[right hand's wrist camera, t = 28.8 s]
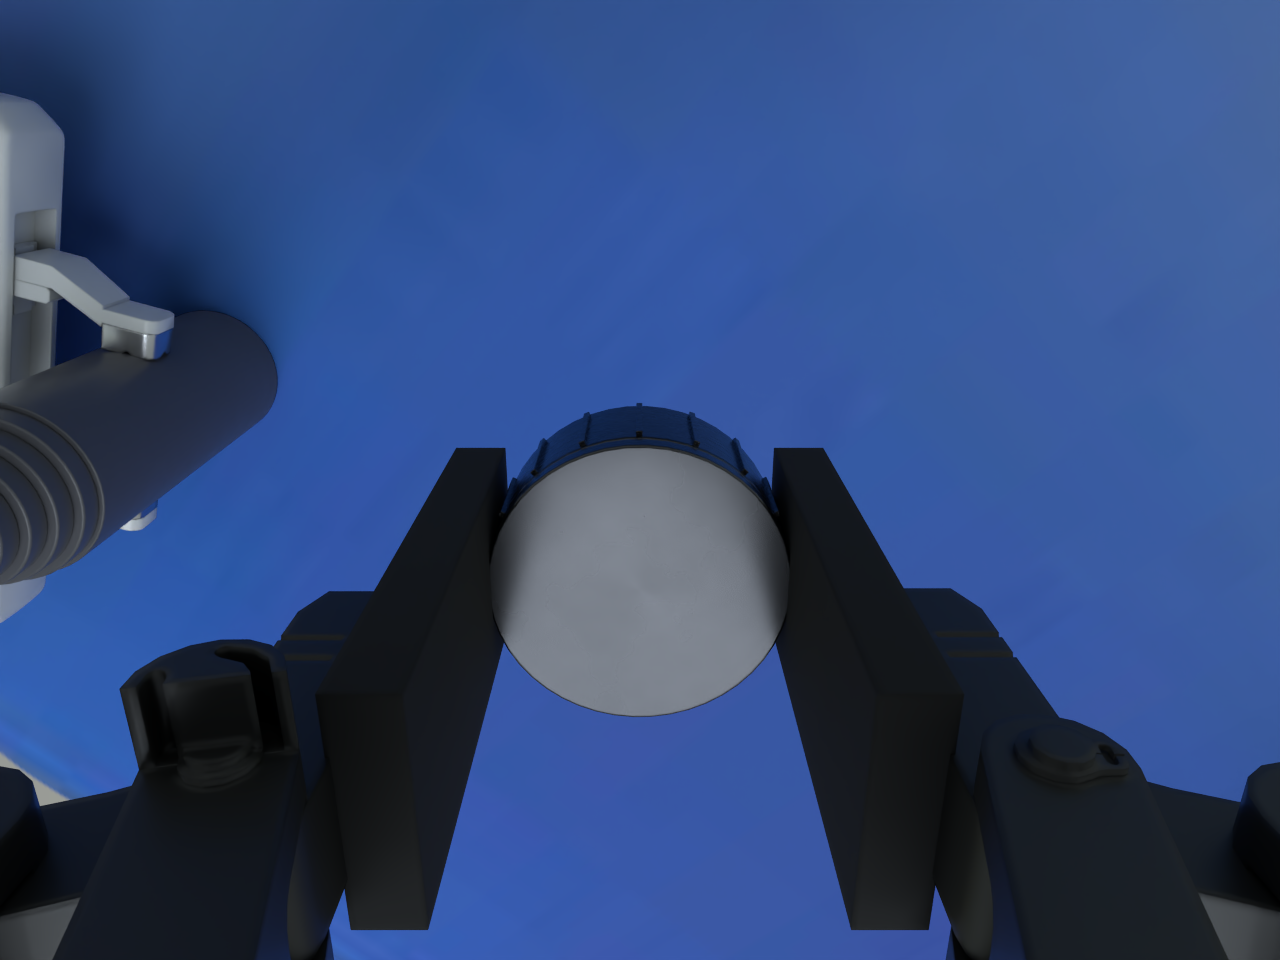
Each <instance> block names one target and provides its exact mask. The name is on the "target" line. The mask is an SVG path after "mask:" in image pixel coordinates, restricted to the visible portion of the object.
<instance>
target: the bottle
mask: <svg viewBox="0 0 1280 960" xmlns="http://www.w3.org/2000/svg"><path fill="white" fill-rule="evenodd" d="M276 391H277V373H276V368H275V364H274V361H273V358H272V356H271V354H270V352H269V350H268V348H267V347H266V345H265V344H264V342H263V341H262V340H261V339H260V337H259V336H258V335H257V334H256V333H255V332H254V331H253V330H251V329H250V328H249V327H248V326H246V325H245V324H244V323H242V322H241V321H239V320H237V319H235V318H233V317H231V316H228V315H226V314H222V313H218V312H213V311H193V312H188V313H185V314H182V315H179V316H177V317H175V318H174V327H173V334H172V342H171V351H170V353H169V354H163V355H162V356H161V358H158V359H155V360H145V359H139V358H137V357H134V356H132V355H130V354H129V353H128V352H127V351H126V352H123V353H117V352H112V351H108V350H105V349H101V348H99V349H96V350H94V351H91V352H89V353H86V354H84V355H81V356H79V357H76V358H74V359H72V360H69V361H67V362H64V363H62V364H59V365H57V366H54V367H52V368H50V369H47V370H45V371H42V372H40V373H37V374H35V375H32V376H30V377H27V378H25V379H23V380H20V381H18V382H15V383H13V384H10V385H8V386H5V387H3V388H0V585H5V584H12V583H16V582H20V581H23V580H31V579H36V578H40V577H43V576H46V575H48V574H51V573H53V572H55V571H56V570H59V569H62V568H64V567H67V566H69V565H71V564H73V563H75V562H77V561H78V560H80V559H81V558H82V557H84V556H85V555H86V554H88V553H89V552H90V551H91V550H93V549H94V548H95V547H97V546H98V545H99V544H101V543H102V542H103V541H104V540H106V539H107V538H108V537H110V536H111V535H112V534H114V533H115V532H116V531H117V530H119V529H120V528H121V527H123V526H124V525H125V524H126V523H128V522H129V521H130V520H132V519H133V518H134V517H136V516H137V515H138V514H139V513H141V512H142V511H143V510H145V509H146V508H147V507H149V506H150V505H151V504H152V503H154V502H155V501H156V500H158V499H159V498H160V497H162V496H163V495H164V494H165V493H167V492H168V491H169V490H171V489H172V488H173V487H175V486H176V485H177V484H178V483H180V482H181V481H182V480H184V479H185V478H186V477H188V476H189V475H190V474H191V473H193V472H194V471H195V470H197V469H198V468H199V467H201V466H202V465H203V464H204V463H206V462H207V461H208V460H210V459H211V458H212V457H213V456H215V455H216V454H217V453H219V452H220V451H221V450H223V449H224V448H225V447H226V446H228V445H229V444H230V443H232V442H233V441H234V440H236V439H237V438H238V437H239V436H241V435H242V434H243V433H245V432H246V431H247V430H249V429H250V428H251V427H252V426H254V425H255V424H256V423H258V422H259V421H260V420H261V419H262V418H263V417H264V416H265V415H266V414H267V413H268V411H269V410H270V408H271V406H272V404H273V402H274V399H275V396H276Z"/></svg>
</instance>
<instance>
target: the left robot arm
mask: <svg viewBox="0 0 1280 960" xmlns="http://www.w3.org/2000/svg"><path fill="white" fill-rule="evenodd" d="M64 151H65V138H64V134H63V132H62V130H61V129H60V127H59V126H58V125H57V124H56V123H55V121H54V120H53V119H52V118H51V117H50V116H49V115H48V114H47V113H46V112H45V111H44V110H43V109H42V108H41V107H40V106H39V104H37V103H36V102H34V101H31V100H28V99H25V98H21V97H18V96H14V95H9V94H5V93H0V388H3V387H5V386H8V385H10V384H13V383H15V382H18V381H20V380H23V379H25V378H27V377H30V376H32V375H35V374H37V373H40V372H42V371H45V370H47V369H50V368H52V367H54V366H55V354H56V331H57V307H58V300H61V299H66V300H67V301H68V302H70V303H71V304H72V305H73V306H75V307H76V308H77V309H79V310H80V311H81V312H82V313H84V314H85V315H86V316H88V317H89V318H90V319H92V320H93V321H94V322H95V323H97V324H98V325H99V326H102V345H101V349H105V350H108V351H112V352H117V353H123V352H126V351H127V352H128V353H129V354H130V355H132V356H134V357H137V358H139V359H145V360H155V359H158V358H161V356H162V355H163V354H169V353H170V351H171V342H172V334H173V327H174V313H172V312H171V311H168V310H164V309H161V308H157V307H153V306H149V305H146V304H142V303H138V302H134V301H131V300H130V297H129V296H128V295H127V294H126V293H125V292H124V291H123V290H122V289H120V288H119V287H118V286H117V285H116V284H115V283H114V282H113V281H112V280H110V279H109V278H108V277H107V276H106V275H105V274H104V273H103V272H102V271H100V270H99V269H98V268H97V267H96V266H95V265H94V264H93V263H92V262H90V261H89V260H88V259H87V258H85V257H82V256H78V255H74V254H70V253H67V252H63V251H60V238H61V215H62V191H63V168H64ZM157 503H158V500H156V501H155V502H154V503H152V504H151V505H150V506H149V507H147V508H146V509H145V510H143V511H142V512H141V513H139V514H138V515H137V516H136V517H134V518H133V519H132V520H130V521H129V522H128V523H126V524H125V525H124V526H123V527H121V528H120V529H123V530H128V531H135V530H141V529H143V528H145V527H146V526H147V525H148V524H149V523H151V522H152V521H153V520H154V519H156V514H157ZM45 581H46V576H43V577H40V578H36V579H31V580H23V581H20V582H16V583H12V584H5V585H0V623H1V622H3V621H5V620H6V619H8V618H9V617H10V616H12V615H13V614H14V613H16V612H17V611H19V610H20V609H21V608H22V607H24V606H25V605H26V604H27V603H29V602H30V601H31V600H32V599H33V598H35V597H36V596H37V595H38V594H39V593H40V592H41V591H42V589H43V588H44V586H45Z"/></svg>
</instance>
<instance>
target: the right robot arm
mask: <svg viewBox="0 0 1280 960" xmlns="http://www.w3.org/2000/svg"><path fill="white" fill-rule="evenodd" d="M507 491H508V487H507V469H506V451H505V448H456V449H455V451H454V453H453V455H452V456H451V458H450V460H449V462H448V463H447V465H446V467H445V469H444V470H443V472H442V474H441V476H440V477H439V479H438V481H437V483H436V484H435V486H434V488H433V490H432V491H431V493H430V495H429V496H428V498H427V500H426V502H425V503H424V505H423V507H422V509H421V510H420V512H419V514H418V516H417V517H416V519H415V521H414V523H413V524H412V526H411V528H410V530H409V531H408V533H407V535H406V537H405V538H404V540H403V542H402V543H401V545H400V547H399V549H398V550H397V552H396V554H395V556H394V557H393V559H392V561H391V563H390V564H389V566H388V568H387V570H386V571H385V573H384V575H383V577H382V578H381V580H380V582H379V584H378V585H377V587H376V589H375V590H374V591H329V592H327V593H326V594H324V595H323V596H321V597H320V598H318V599H317V600H315V601H314V602H312V603H311V604H309V605H308V606H306V607H305V608H303V609H302V610H300V611H299V612H298V613H297V614H296V616H295V617H294V618H293V620H292V621H291V623H290V624H289V625H288V627H287V628H286V630H285V631H284V632H283V634H282V635H281V640H278V641H277V642H276V644H275V645H274V647H273V646H272V645H269V644H265V643H261V642H257V641H253V640H249V639H245V640H216V641H211V642H206V643H201V644H196V645H190V646H187V647H185V648H182V649H179V650H177V651H174V652H171V653H168V654H166V655H163V656H160V657H158V658H157V659H155V660H154V661H152V662H150V663H149V664H147V665H145V666H144V667H142V668H140V669H139V670H137V671H135V672H134V673H133V675H132V676H131V677H130V678H129V679H128V680H127V681H126V682H125V683H124V684H123V686H122V687H121V688H120V693H121V697H122V701H123V706H124V710H125V714H126V718H127V722H128V726H129V730H130V734H131V738H132V743H133V747H134V751H135V755H136V759H137V763H138V767H139V771H138V773H137V776H136V778H135V780H134V782H133V784H132V786H129V787H125V788H122V789H118V790H114V791H111V792H107V793H102V794H97V795H92V796H87V797H83V798H78V799H73V800H68V801H63V802H58V803H54V804H49V805H44V806H40V805H39V802H38V798H37V795H36V792H35V788H34V785H33V782H32V780H30V779H29V778H28V777H27V776H26V775H25V774H23V773H22V772H21V771H20V770H18V769H12V768H6V767H1V766H0V960H334V957H333V949H332V943H331V937H330V931H329V927H330V924H331V921H332V919H333V916H334V914H335V911H336V909H337V906H338V903H339V901H340V898H341V896H342V893H343V891H344V889H345V895H346V902H347V908H348V915H349V921H350V928H351V930H428V928H429V924H430V921H431V917H432V913H433V909H434V905H435V902H436V898H437V894H438V890H439V887H440V883H441V879H442V875H443V871H444V868H445V864H446V860H447V856H448V852H449V849H450V845H451V841H452V837H453V833H454V830H455V826H456V822H457V818H458V815H459V811H460V807H461V803H462V799H463V796H464V792H465V788H466V784H467V780H468V777H469V773H470V769H471V765H472V761H473V758H474V754H475V750H476V746H477V742H478V739H479V735H480V731H481V727H482V724H483V720H484V716H485V712H486V708H487V705H488V701H489V697H490V693H491V689H492V686H493V682H494V678H495V674H496V670H497V667H498V663H499V659H500V655H501V652H502V648H503V644H504V641H503V640H502V638H501V636H500V634H499V632H498V629H497V627H496V624H495V622H494V619H493V610H492V596H491V581H490V565H489V558H490V553H491V548H492V545H493V542H494V539H495V536H496V533H497V531H498V528H499V525H500V522H501V519H502V518H501V517H499V513H500V510H501V507H502V505H503V502H504V499H505V497H506V494H507ZM772 493H773V496H774V498H775V501H776V504H777V507H778V509H779V512H780V515H781V516H779V517H777V518H778V520H779V523H780V526H781V529H782V532H783V535H784V537H785V540H786V544H787V548H788V551H789V555H790V572H789V587H788V602H787V615H786V620H785V623H784V626H783V629H782V631H781V633H780V634H779V636H778V638H777V640H776V646H777V650H778V654H779V658H780V661H781V665H782V669H783V673H784V676H785V680H786V684H787V688H788V692H789V695H790V699H791V703H792V707H793V711H794V714H795V718H796V722H797V726H798V730H799V733H800V737H801V741H802V745H803V749H804V752H805V756H806V760H807V764H808V767H809V771H810V775H811V779H812V783H813V786H814V790H815V794H816V798H817V802H818V805H819V809H820V813H821V817H822V821H823V824H824V828H825V832H826V836H827V840H828V843H829V847H830V851H831V855H832V858H833V862H834V866H835V870H836V874H837V877H838V881H839V885H840V889H841V893H842V896H843V900H844V904H845V908H846V912H847V915H848V919H849V923H850V927H851V930H929V924H930V917H931V911H932V904H933V898H934V891H935V885H936V888H937V890H938V893H939V895H940V898H941V900H942V903H943V905H944V908H945V911H946V913H947V916H948V918H949V921H950V923H951V931H950V937H949V943H948V949H947V955H946V960H1280V762H1279V763H1273V764H1267V765H1261V766H1260V767H1259V768H1258V769H1257V770H1256V771H1254V772H1253V773H1252V774H1251V775H1250V776H1249V777H1248V779H1247V782H1246V786H1245V789H1244V792H1243V796H1242V799H1241V802H1236V801H1231V800H1227V799H1222V798H1217V797H1212V796H1207V795H1202V794H1197V793H1193V792H1188V791H1183V790H1178V789H1173V788H1169V787H1165V786H1162V785H1158V784H1154V783H1151V782H1147V781H1146V778H1145V776H1144V774H1143V772H1142V770H1141V768H1140V767H1139V765H1138V764H1137V763H1136V761H1135V760H1134V759H1133V758H1132V756H1131V755H1130V754H1129V752H1128V751H1127V750H1126V749H1125V748H1123V747H1122V746H1121V745H1119V744H1118V743H1116V742H1115V741H1113V740H1112V739H1111V738H1109V737H1108V736H1106V735H1105V734H1104V733H1102V732H1099V731H1097V730H1095V729H1092V728H1090V727H1088V726H1085V725H1083V724H1081V723H1078V722H1076V721H1072V720H1068V719H1063V718H1059V717H1058V715H1057V714H1056V712H1055V711H1054V710H1053V708H1052V707H1051V705H1050V704H1049V703H1048V701H1047V700H1046V698H1045V697H1044V695H1043V694H1042V693H1041V691H1040V690H1039V688H1038V687H1037V686H1036V684H1035V683H1034V681H1033V680H1032V679H1031V677H1030V676H1029V674H1028V673H1027V672H1026V670H1025V669H1024V667H1023V666H1022V665H1021V663H1020V662H1019V660H1018V659H1017V658H1016V657H1013V652H1012V651H1011V649H1010V648H1009V646H1008V645H1007V644H1006V642H1005V641H1004V639H1003V638H1002V637H999V632H998V631H997V630H996V628H995V627H994V625H993V624H992V623H991V621H990V620H989V618H988V617H987V615H986V614H985V613H984V611H983V610H982V609H981V608H980V607H978V606H977V605H975V604H974V603H972V602H971V601H969V600H968V599H966V598H965V597H963V596H961V595H960V594H958V593H957V592H955V591H954V590H952V589H951V588H903V586H902V585H901V583H900V581H899V579H898V578H897V576H896V574H895V572H894V571H893V569H892V567H891V566H890V564H889V562H888V560H887V559H886V557H885V555H884V553H883V552H882V550H881V548H880V546H879V545H878V543H877V541H876V539H875V538H874V536H873V534H872V532H871V531H870V529H869V527H868V525H867V524H866V522H865V520H864V518H863V517H862V515H861V513H860V512H859V510H858V508H857V506H856V505H855V503H854V501H853V499H852V498H851V496H850V494H849V492H848V491H847V489H846V487H845V485H844V484H843V482H842V480H841V478H840V477H839V475H838V473H837V471H836V470H835V468H834V466H833V464H832V463H831V461H830V459H829V457H828V456H827V454H826V452H825V451H824V449H823V448H774V458H773V476H772Z"/></svg>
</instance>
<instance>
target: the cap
mask: <svg viewBox="0 0 1280 960" xmlns="http://www.w3.org/2000/svg"><path fill="white" fill-rule="evenodd" d="M779 516H781V515H780V512H779V509H778V507H777V504H776V501H775V498H774V496H773V493H772V490H771V487H770V485H769V482H768V480H767V477H765V478H762V476H761V475H760V473H759V471H758V470H757V468H756V466H755V464H754V463H753V462H752V460H751V459H750V458H749V457H748V455H747V454H746V453H745V452H744V450H743V449H742V448H741V446H740V443H739V441H738V440H737V439H736V438H734V439H733V440H732V439H731V438H730V437H728V436H727V435H726V434H724V433H723V432H721V431H720V430H719V429H717V428H716V427H714V426H712V425H710V424H708V423H707V422H705V421H703V420H701V419H699V418H696V417H695V413H692V412H689V415H688V414H685V413H683V412H679V411H675V410H670V409H666V408H659V407H649V406H642V403H637V406H630V407H621V408H614V409H608V410H605V411H601V412H597V413H594V414H591V415H590V413H589V412H587V413H585V414H584V417H583V418H581V419H579V420H576V421H574V422H573V423H571V424H569V425H567V426H566V427H564V428H562V429H561V430H559V431H558V432H556V433H555V434H554V435H553V436H551V437H550V438H549V439H547V440H545V439H544V438H543V439H542V440H541V441H540V443H539V446H538V449H537V450H536V451H535V452H534V453H533V454H532V456H531V457H530V458H529V460H528V461H527V463H526V464H525V465H524V467H523V468H522V470H521V472H520V474H519V476H518V477H517V479H516V478H514V477H513V478H512V480H511V483H510V486H509V488H508V491H507V494H506V497H505V499H504V502H503V505H502V507H501V510H500V513H499V517H501V518H502V519H501V522H500V525H499V528H498V531H497V533H496V536H495V539H494V542H493V545H492V548H491V553H490V558H489V565H490V581H491V596H492V610H493V619H494V622H495V624H496V627H497V629H498V632H499V634H500V636H501V638H502V640H503V641H504V643H505V645H506V647H507V648H508V650H509V651H510V653H511V654H512V655H513V657H514V658H515V659H516V661H517V662H518V663H519V665H520V666H521V667H522V668H523V669H524V670H525V671H526V672H527V673H528V674H529V675H530V676H531V677H532V678H534V679H535V680H536V681H537V682H539V683H540V684H541V685H543V686H544V687H545V688H546V689H548V690H550V691H551V692H553V693H555V694H556V695H558V696H560V697H561V698H563V699H565V700H568V701H570V702H572V703H574V704H576V705H578V706H581V707H585V708H588V709H591V710H594V711H597V712H602V713H607V714H612V715H619V716H630V717H652V716H660V715H668V714H673V713H677V712H681V711H686V710H689V709H692V708H695V707H698V706H700V705H703V704H706V703H708V702H710V701H712V700H714V699H716V698H718V697H720V696H722V695H723V694H725V693H727V692H728V691H730V690H731V689H733V688H734V687H736V686H737V685H738V684H740V683H741V682H742V681H743V680H744V679H745V678H747V677H748V676H749V675H750V674H751V673H752V672H753V671H754V670H755V669H756V668H757V667H758V666H759V665H760V663H761V662H762V661H763V660H764V659H765V657H766V656H767V655H768V653H769V652H770V650H771V649H772V647H773V646H774V644H775V642H776V640H777V638H778V636H779V634H780V633H781V631H782V629H783V626H784V623H785V620H786V615H787V602H788V587H789V572H790V555H789V551H788V548H787V544H786V540H785V537H784V535H783V532H782V529H781V526H780V523H779V520H778V518H777V517H779Z"/></svg>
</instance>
